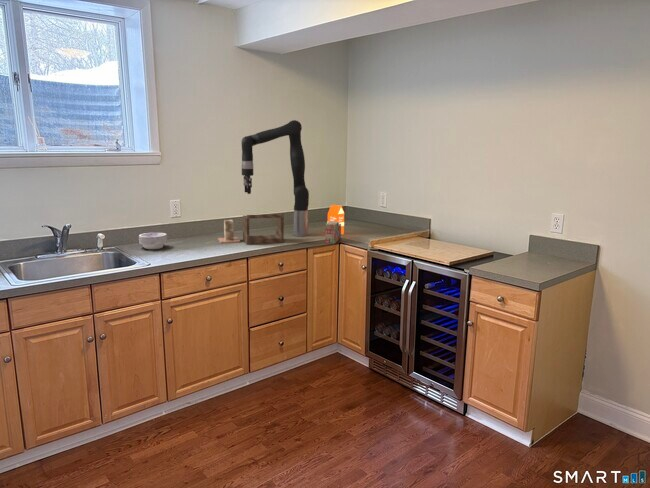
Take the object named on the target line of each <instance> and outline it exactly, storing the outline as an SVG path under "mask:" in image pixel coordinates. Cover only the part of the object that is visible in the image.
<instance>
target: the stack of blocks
mask: <svg viewBox="0 0 650 488" xmlns="http://www.w3.org/2000/svg"><path fill="white" fill-rule="evenodd" d="M327 222H328V221H327ZM327 222H326V223H325V228H324V229H325V231H324V233H325V234H324V236H325V237H324V243H325V244H336V243H337V242H338V241H339V240H340V239H341V237H342V235H341V224H339V221H329V222H328V223H327Z"/></svg>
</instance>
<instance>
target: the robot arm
mask: <svg viewBox="0 0 650 488" xmlns="http://www.w3.org/2000/svg"><path fill="white" fill-rule="evenodd" d="M302 129H303V127H302V124H301V122H300V121H299V120H296V119H293V120H290V121H289V122H288V123H286V124H284V125H282V126H279V127H275V128H271V129H266V130H262V131H260V132H257V133H255V134H250V135H247V136H244V137H242V139H241V176H243V186H244V193H246V194H248V195H250V194H251V193H252V187H253V181H252V180H253V178H252V177H251V176H254V155H253V154H254V153H253V147H254V146H256V145H261V144H265V143H269V142H271V141H274V140H277V139H279V138H283V137H286V136H288V139H289V146H290V147H289V158H290V159H289V160H290V166H291V172H292V178H293V196H294V204H293V236H295V237H306V236H307V237H308V236H309V226H310V225H309V222H310V221H308V220H309V216H308V214H309V210H308V209H309V202H310V201H309V200H310V197H309V196H310V194H309V193H310V191H309V190H308V188H307V186H306V181H305V171H306V170H305V169H306V160H305V159H306V158H305V153H304V148H303V145H302V138H301V137H302V133H301V132H302ZM251 195H252V194H251Z"/></svg>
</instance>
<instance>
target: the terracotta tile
mask: <svg viewBox="0 0 650 488" xmlns="http://www.w3.org/2000/svg"><path fill="white" fill-rule="evenodd" d="M217 240H218V241H219V243H220V244H227V243H228V244H230V243H231V244H232V243H241V240H240V239H239V237H237V236H234V240H225V239H224V237H217Z"/></svg>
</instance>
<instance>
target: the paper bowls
mask: <svg viewBox="0 0 650 488" xmlns="http://www.w3.org/2000/svg"><path fill="white" fill-rule="evenodd" d="M167 235H168V234H167V233H165V232H146V233H141V234H139V235H138V243H139V244H140V245H142V247H143V248H144V249H146V250H159V249H162V248H163V247H164V245H165V244H167V243H168V236H167Z"/></svg>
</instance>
